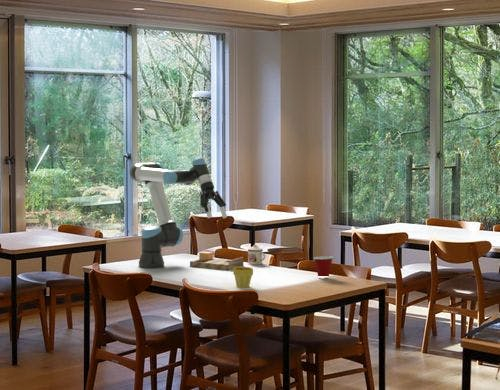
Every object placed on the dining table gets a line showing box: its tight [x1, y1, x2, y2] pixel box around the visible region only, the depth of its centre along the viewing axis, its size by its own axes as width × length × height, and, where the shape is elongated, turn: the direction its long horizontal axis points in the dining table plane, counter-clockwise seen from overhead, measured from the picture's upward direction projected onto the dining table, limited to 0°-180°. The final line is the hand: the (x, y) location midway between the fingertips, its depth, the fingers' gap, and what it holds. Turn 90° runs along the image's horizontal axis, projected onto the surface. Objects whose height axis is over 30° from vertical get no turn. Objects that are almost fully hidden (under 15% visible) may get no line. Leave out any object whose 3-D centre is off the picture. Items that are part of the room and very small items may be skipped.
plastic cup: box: [313, 255, 334, 277], centre depth 510 cm, size 11×11×12 cm
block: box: [198, 251, 214, 260], centre depth 555 cm, size 6×6×4 cm
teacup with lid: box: [247, 244, 266, 266], centre depth 557 cm, size 12×9×12 cm
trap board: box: [189, 256, 245, 271], centre depth 547 cm, size 27×17×6 cm, turn 63°
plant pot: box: [232, 266, 254, 289], centre depth 481 cm, size 10×10×10 cm
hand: (217, 217), depth 519 cm, fingers open, 13 cm apart
